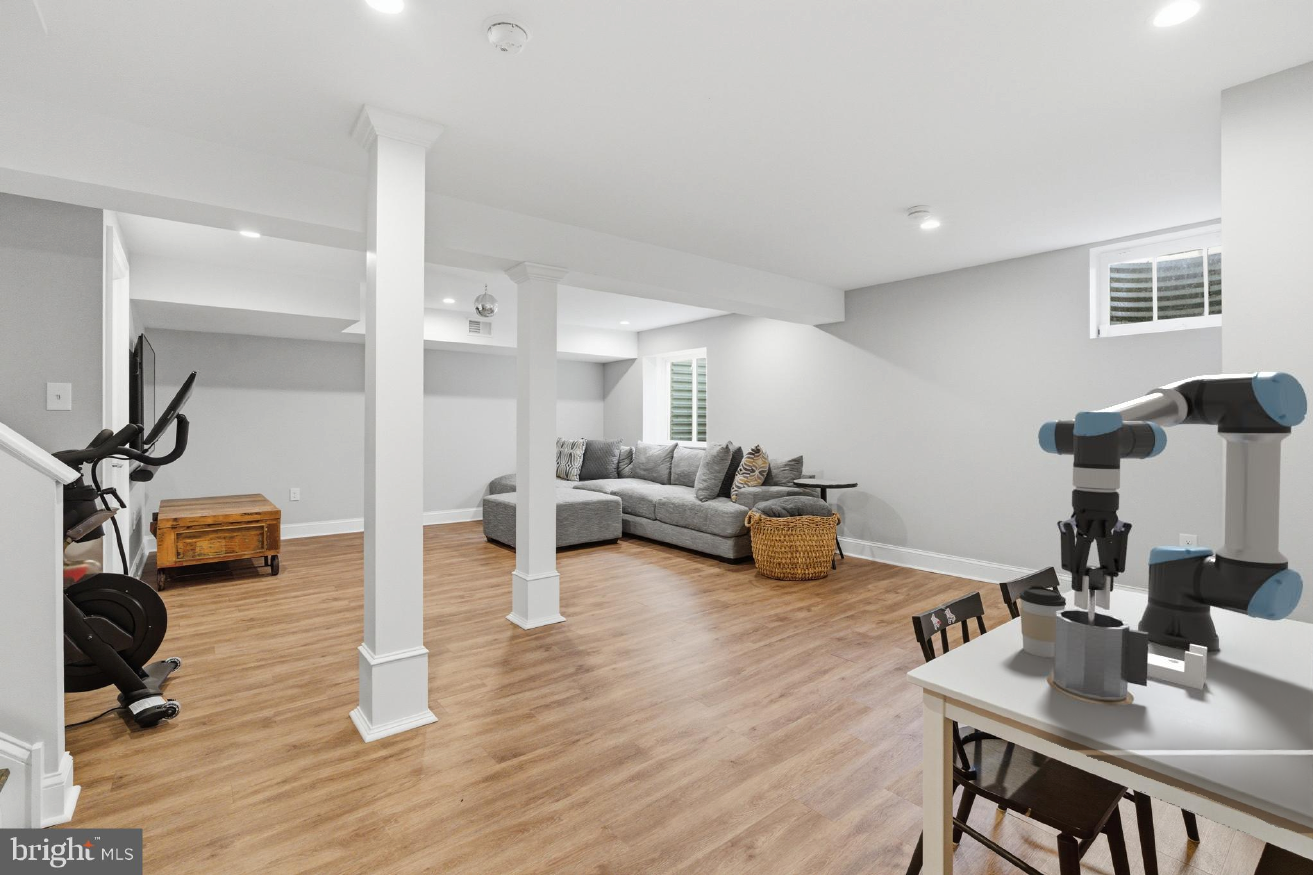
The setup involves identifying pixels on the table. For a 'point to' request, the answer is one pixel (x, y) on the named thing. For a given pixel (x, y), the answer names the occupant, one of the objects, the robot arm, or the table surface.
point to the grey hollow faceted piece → (1098, 656)
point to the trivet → (1125, 702)
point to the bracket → (1181, 667)
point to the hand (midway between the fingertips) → (1091, 607)
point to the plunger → (1094, 588)
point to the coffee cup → (1039, 619)
